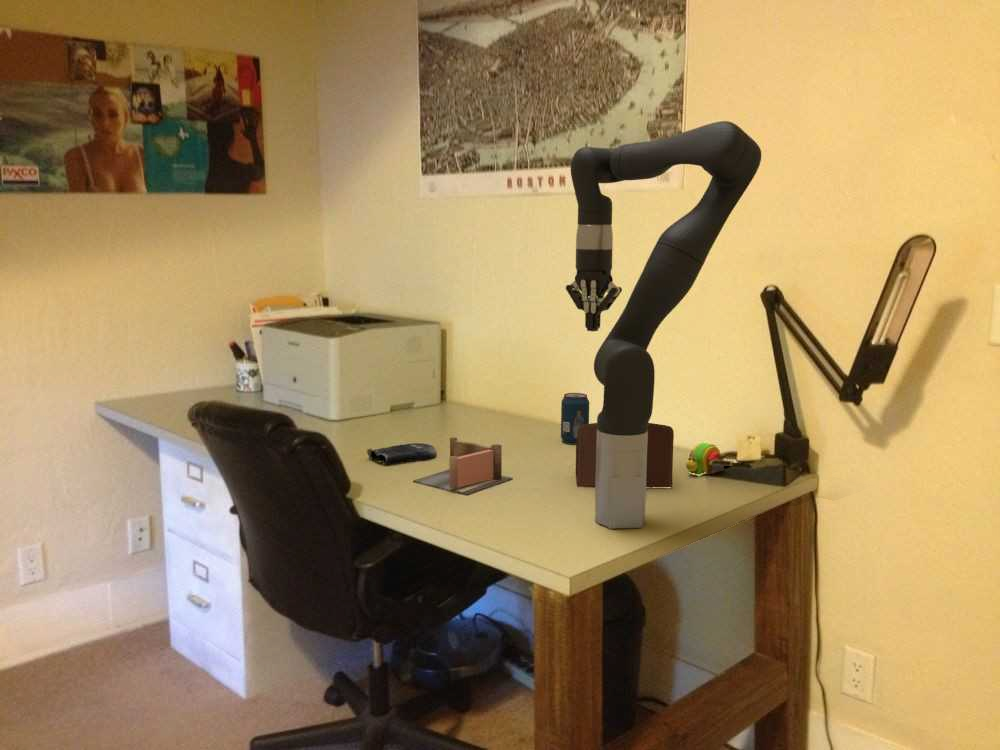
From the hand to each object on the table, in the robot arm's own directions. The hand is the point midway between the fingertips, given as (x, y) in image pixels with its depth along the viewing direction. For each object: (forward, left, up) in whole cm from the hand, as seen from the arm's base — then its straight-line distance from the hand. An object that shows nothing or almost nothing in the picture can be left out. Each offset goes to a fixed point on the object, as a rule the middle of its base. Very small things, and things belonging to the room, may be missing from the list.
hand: (592, 330), depth 191 cm
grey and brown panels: (+1, +27, -32) cm, 42 cm away
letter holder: (-2, -7, -32) cm, 33 cm away
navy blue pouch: (+21, +39, -33) cm, 55 cm away
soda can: (+33, -3, -32) cm, 46 cm away
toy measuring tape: (+5, -30, -32) cm, 44 cm away
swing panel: (-4, +26, -31) cm, 41 cm away
